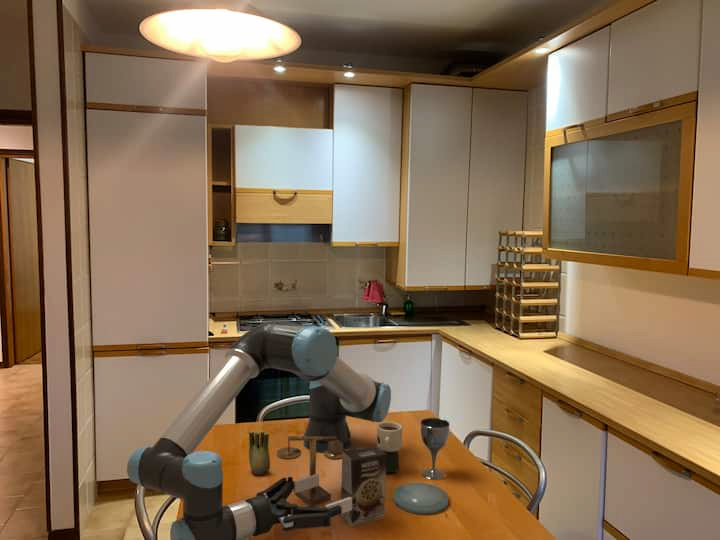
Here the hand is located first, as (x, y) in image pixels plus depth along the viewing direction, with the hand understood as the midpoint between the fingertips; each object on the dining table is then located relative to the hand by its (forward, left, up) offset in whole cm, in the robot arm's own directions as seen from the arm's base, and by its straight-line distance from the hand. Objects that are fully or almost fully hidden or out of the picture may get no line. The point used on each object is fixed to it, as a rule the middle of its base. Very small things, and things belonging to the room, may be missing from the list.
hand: (334, 490), depth 129 cm
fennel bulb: (-35, -1, -9) cm, 36 cm away
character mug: (-16, +29, -9) cm, 35 cm away
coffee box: (0, +8, -9) cm, 12 cm away
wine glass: (-7, +38, -9) cm, 40 cm away
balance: (-15, +4, -9) cm, 18 cm away
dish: (+2, +26, -9) cm, 27 cm away
